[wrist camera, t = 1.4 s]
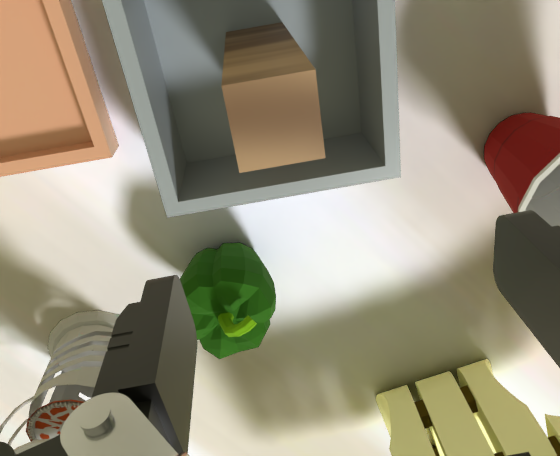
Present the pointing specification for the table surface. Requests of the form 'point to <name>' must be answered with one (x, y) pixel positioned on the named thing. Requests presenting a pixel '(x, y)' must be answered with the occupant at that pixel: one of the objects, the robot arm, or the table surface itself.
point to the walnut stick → (270, 99)
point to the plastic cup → (527, 163)
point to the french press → (67, 373)
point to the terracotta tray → (48, 90)
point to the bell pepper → (229, 298)
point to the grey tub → (211, 106)
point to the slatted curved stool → (464, 418)
